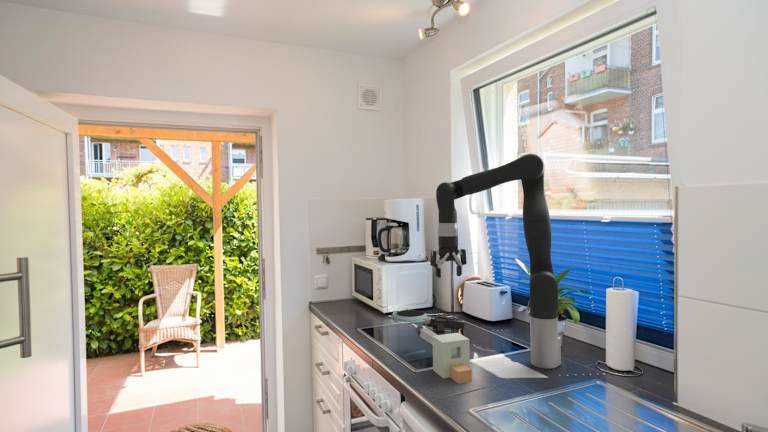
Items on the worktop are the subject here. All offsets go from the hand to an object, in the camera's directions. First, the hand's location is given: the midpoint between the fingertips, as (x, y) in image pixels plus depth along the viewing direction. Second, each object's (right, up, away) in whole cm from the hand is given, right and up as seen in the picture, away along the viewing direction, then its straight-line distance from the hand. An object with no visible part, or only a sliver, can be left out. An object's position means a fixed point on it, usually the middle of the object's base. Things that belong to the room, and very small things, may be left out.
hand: (448, 276), depth 166 cm
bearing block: (-2, -31, -17) cm, 35 cm away
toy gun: (+1, -30, +36) cm, 47 cm away
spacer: (0, -31, -24) cm, 39 cm away
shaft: (-6, -25, -6) cm, 26 cm away
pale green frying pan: (-13, -30, +60) cm, 68 cm away
